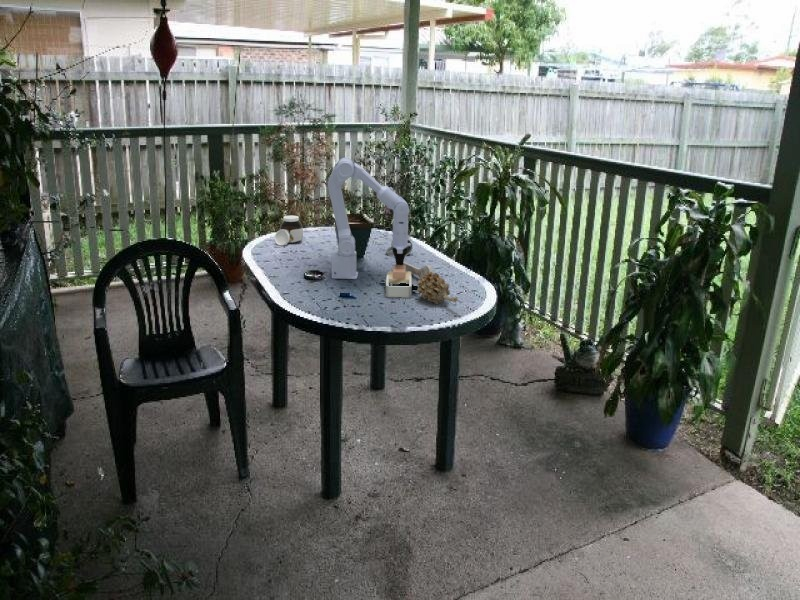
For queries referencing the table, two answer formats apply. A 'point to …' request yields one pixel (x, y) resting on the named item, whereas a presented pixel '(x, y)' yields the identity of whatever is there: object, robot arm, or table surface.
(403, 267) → the tile
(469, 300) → the table surface
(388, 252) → the ceramic mug
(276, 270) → the table surface
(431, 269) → the wrench
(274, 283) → the table surface
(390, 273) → the board
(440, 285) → the pine cone
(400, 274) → the tile
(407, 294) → the tray
